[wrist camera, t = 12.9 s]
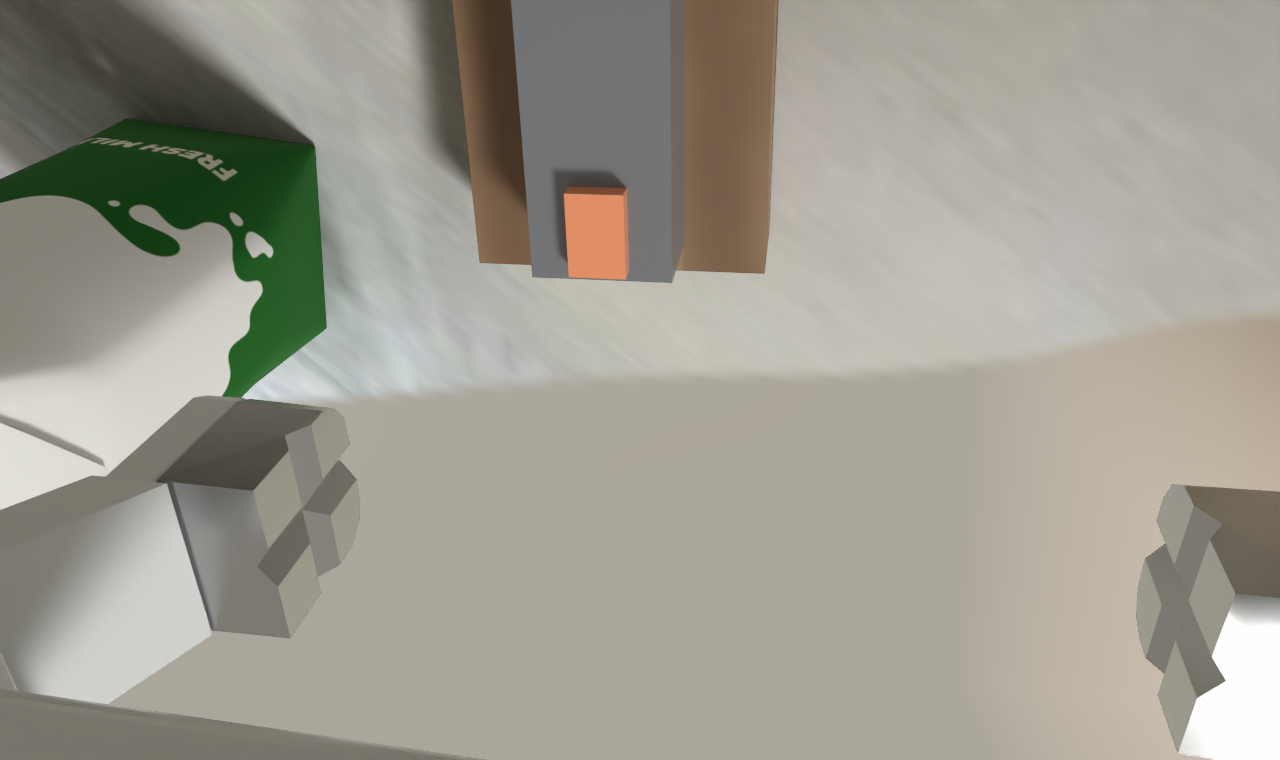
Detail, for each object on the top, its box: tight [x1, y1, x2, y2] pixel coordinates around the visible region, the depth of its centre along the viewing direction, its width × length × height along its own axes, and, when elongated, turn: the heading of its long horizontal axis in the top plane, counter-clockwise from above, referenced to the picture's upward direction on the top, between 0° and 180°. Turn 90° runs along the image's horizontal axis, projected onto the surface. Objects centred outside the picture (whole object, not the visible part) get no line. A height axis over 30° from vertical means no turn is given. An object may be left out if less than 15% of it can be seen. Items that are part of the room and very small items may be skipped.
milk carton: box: [0, 119, 327, 510], centre depth 29 cm, size 9×9×20 cm
